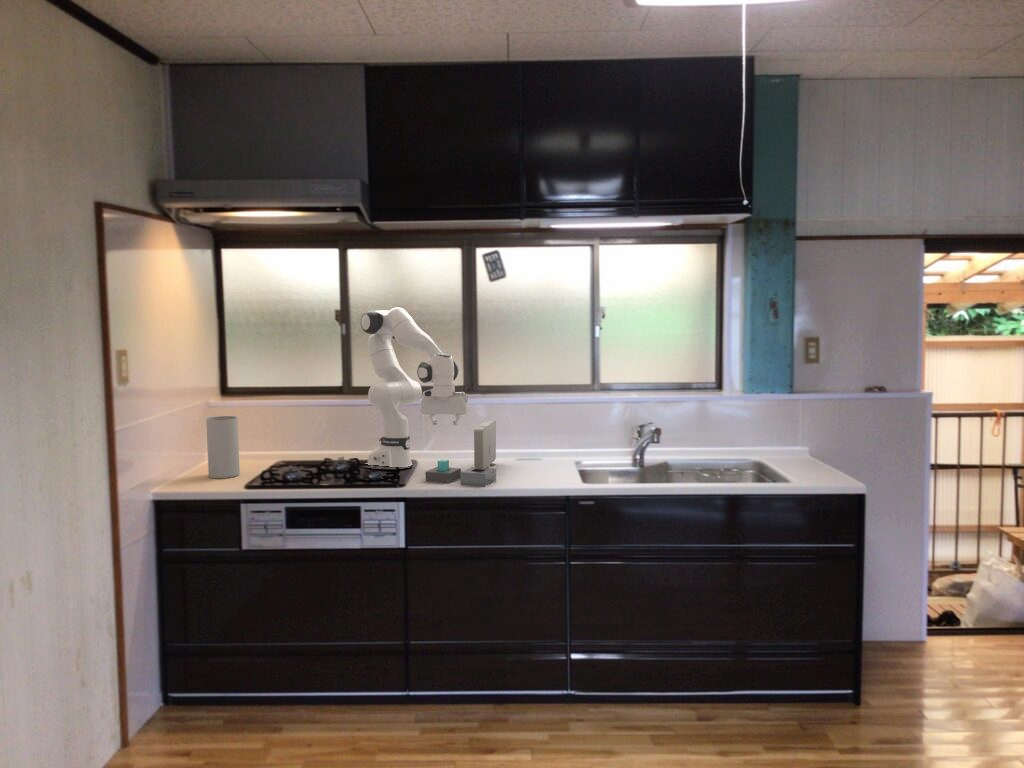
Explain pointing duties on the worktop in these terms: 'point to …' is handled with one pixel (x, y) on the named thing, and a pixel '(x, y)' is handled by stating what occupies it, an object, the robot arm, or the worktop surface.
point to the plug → (443, 465)
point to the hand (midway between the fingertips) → (445, 425)
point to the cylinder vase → (223, 446)
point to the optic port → (478, 476)
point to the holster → (443, 475)
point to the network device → (485, 445)
